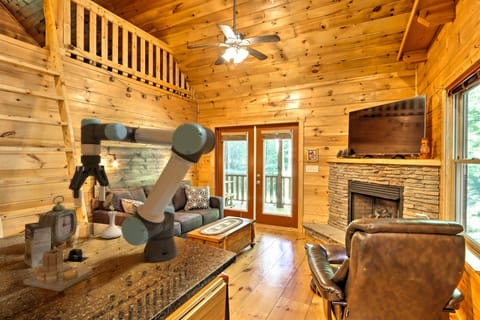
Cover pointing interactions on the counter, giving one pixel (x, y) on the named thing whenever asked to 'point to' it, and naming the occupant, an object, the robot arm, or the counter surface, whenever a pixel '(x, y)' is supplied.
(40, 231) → the coffee box
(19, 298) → the counter surface
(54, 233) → the tabletop clock
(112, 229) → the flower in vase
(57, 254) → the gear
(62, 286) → the carrier
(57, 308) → the counter surface
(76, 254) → the black piece
